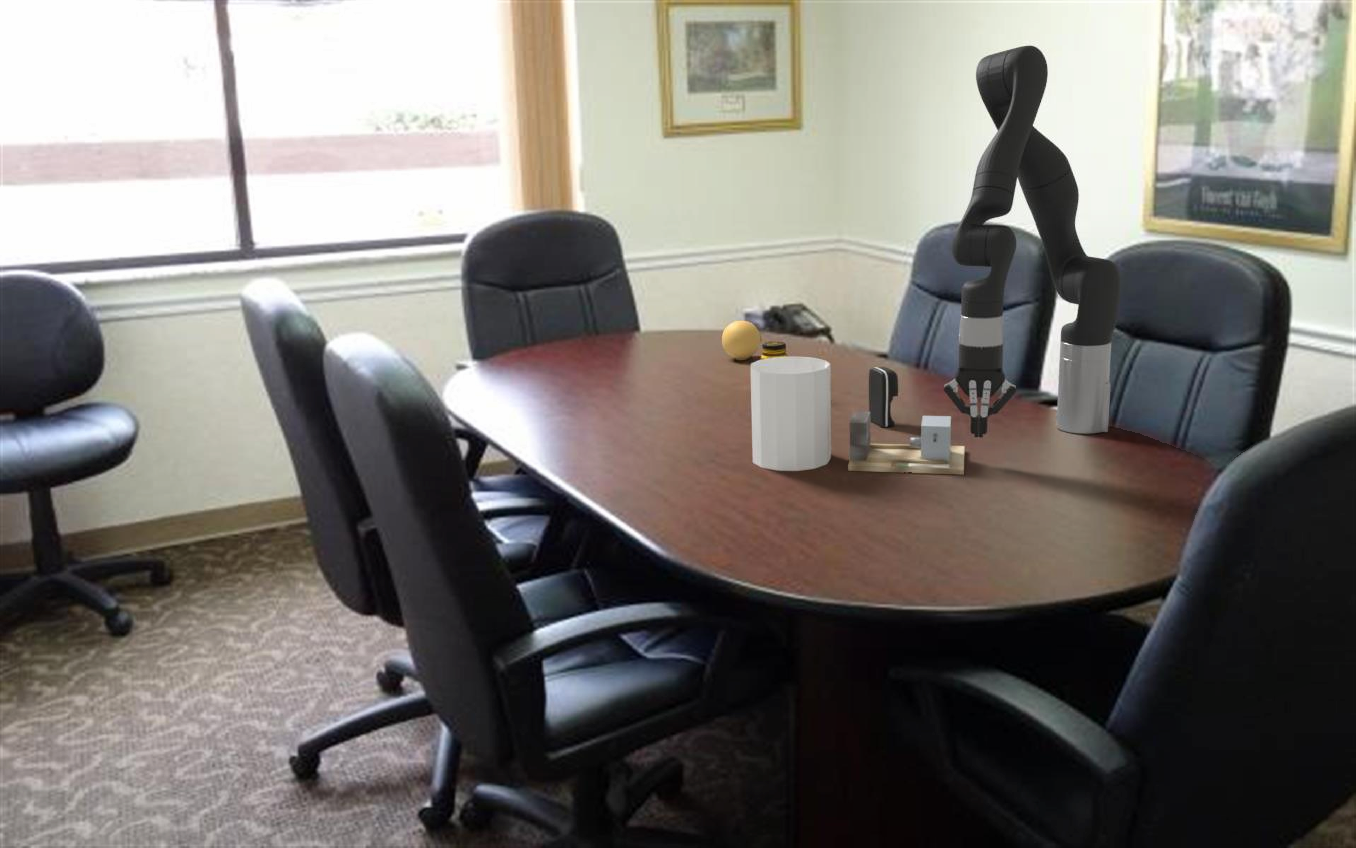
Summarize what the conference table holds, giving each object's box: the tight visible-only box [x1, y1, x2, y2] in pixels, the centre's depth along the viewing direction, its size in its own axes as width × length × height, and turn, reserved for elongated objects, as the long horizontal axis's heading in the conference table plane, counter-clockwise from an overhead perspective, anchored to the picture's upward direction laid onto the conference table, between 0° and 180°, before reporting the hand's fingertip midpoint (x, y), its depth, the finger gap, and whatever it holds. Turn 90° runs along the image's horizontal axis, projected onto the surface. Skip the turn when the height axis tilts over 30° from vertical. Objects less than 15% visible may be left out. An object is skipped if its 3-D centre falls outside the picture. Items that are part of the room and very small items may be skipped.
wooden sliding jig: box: [847, 410, 965, 475], centre depth 215 cm, size 20×14×8 cm
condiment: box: [760, 340, 789, 360], centre depth 266 cm, size 7×8×12 cm
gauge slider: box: [909, 415, 952, 462], centre depth 212 cm, size 7×10×6 cm, turn 166°
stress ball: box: [721, 319, 762, 361], centre depth 303 cm, size 10×10×10 cm
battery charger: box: [868, 366, 899, 428], centre depth 239 cm, size 7×4×11 cm, turn 16°
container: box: [750, 355, 832, 472], centre depth 217 cm, size 14×14×18 cm
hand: (978, 436), depth 211 cm, fingers closed
